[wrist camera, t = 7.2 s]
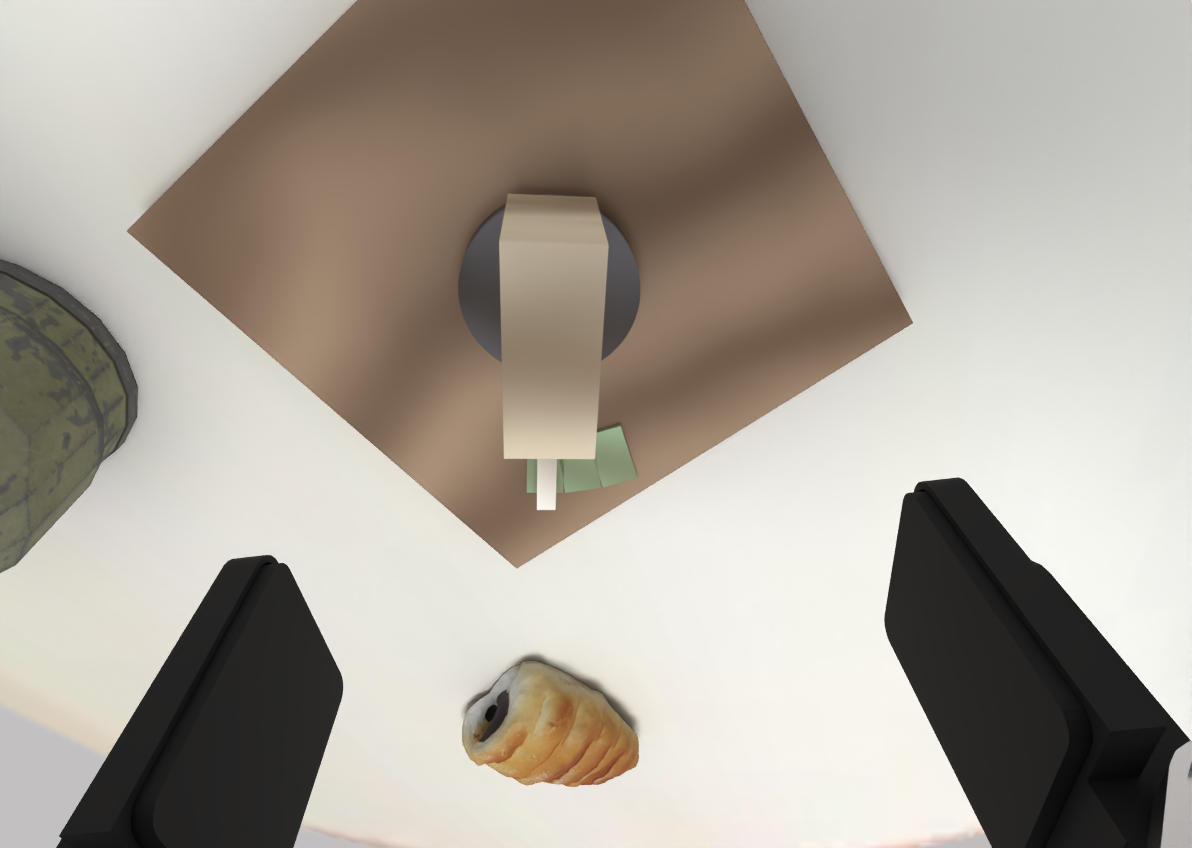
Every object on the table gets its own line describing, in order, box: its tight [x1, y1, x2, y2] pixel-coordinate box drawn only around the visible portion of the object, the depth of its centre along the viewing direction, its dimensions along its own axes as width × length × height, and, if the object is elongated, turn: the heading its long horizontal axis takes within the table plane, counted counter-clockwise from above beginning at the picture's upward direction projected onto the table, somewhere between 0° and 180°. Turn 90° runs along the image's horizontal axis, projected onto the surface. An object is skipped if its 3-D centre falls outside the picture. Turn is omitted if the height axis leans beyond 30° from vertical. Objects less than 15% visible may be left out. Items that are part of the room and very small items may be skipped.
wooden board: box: [127, 0, 913, 568], centre depth 23 cm, size 18×18×2 cm
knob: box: [458, 194, 641, 510], centre depth 21 cm, size 12×6×6 cm, turn 177°
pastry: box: [462, 661, 639, 787], centre depth 35 cm, size 9×7×4 cm
